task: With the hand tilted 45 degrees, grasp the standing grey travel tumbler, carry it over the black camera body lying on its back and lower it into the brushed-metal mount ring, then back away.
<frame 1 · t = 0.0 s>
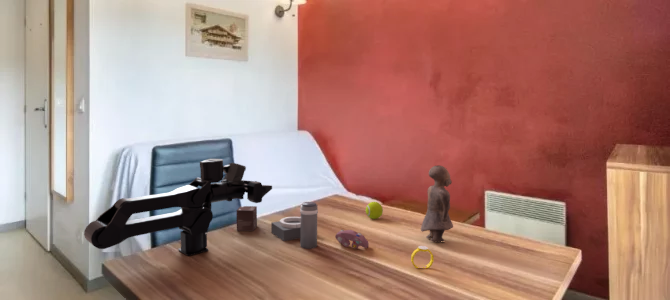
hand: (263, 185, 136), 17 cm above the table, tool horizontal, fingers open, 9 cm apart
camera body: (293, 233, 137), on the table
tennis ball: (373, 219, 157), on the table
box: (246, 228, 142), on the table
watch: (421, 268, 110), on the table
clay figurine: (435, 241, 133), on the table
grey travel tumbler: (308, 245, 126), on the table
video game controller: (351, 247, 125), on the table
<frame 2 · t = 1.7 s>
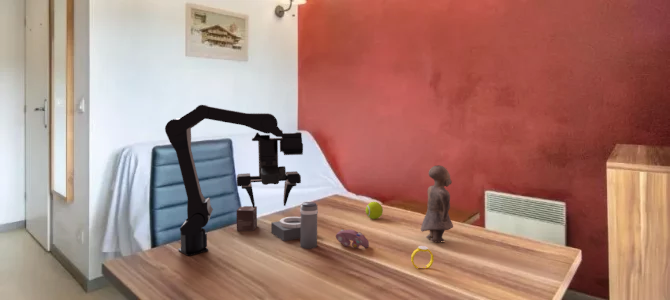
hand: (269, 206, 122), 13 cm above the table, tool pointing down, fingers open, 9 cm apart
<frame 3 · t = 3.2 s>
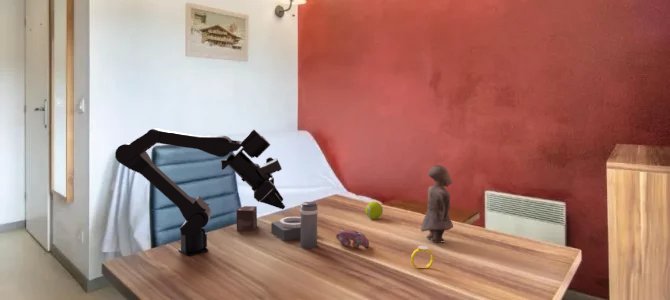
hand: (283, 204, 123), 13 cm above the table, tool tilted 45°, fingers open, 9 cm apart
nothing on the table moved.
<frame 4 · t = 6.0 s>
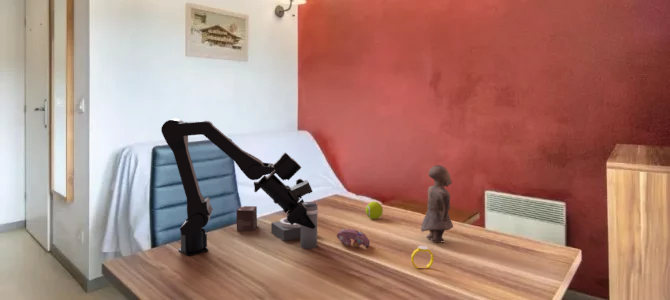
hand: (313, 225, 125), 7 cm above the table, tool tilted 45°, fingers closed on grey travel tumbler, 5 cm apart
grey travel tumbler: (308, 245, 126), on the table, touching gripper
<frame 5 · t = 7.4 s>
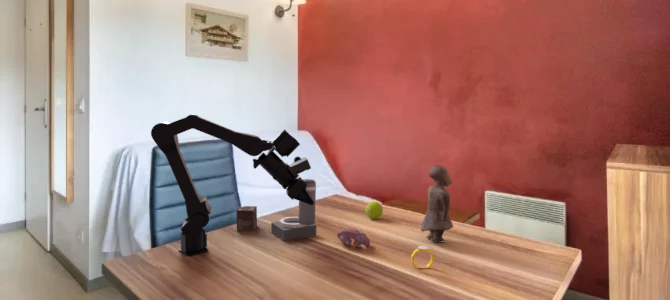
hand: (311, 201, 127), 13 cm above the table, tool tilted 45°, fingers closed on grey travel tumbler, 5 cm apart
grey travel tumbler: (306, 222, 127), point 7 cm above the table, touching gripper
when the fingers open (11 cm above the table, at t = 9.1 s): grey travel tumbler stays where it is, resting on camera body.
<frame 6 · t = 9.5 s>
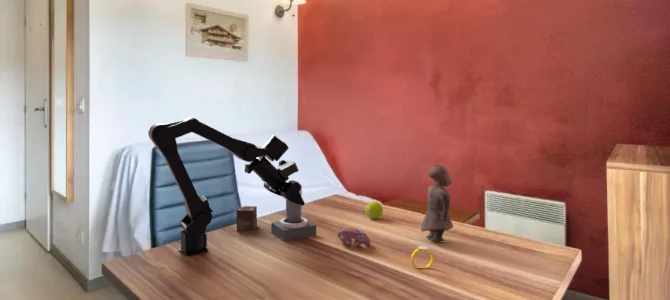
hand: (297, 201, 136), 11 cm above the table, tool tilted 45°, fingers open, 9 cm apart
grey travel tumbler: (293, 223, 136), point 4 cm above the table, touching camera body
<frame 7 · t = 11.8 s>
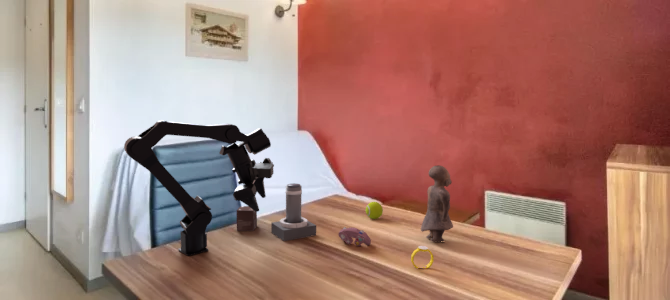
hand: (261, 204, 129), 12 cm above the table, tool tilted 25°, fingers open, 9 cm apart
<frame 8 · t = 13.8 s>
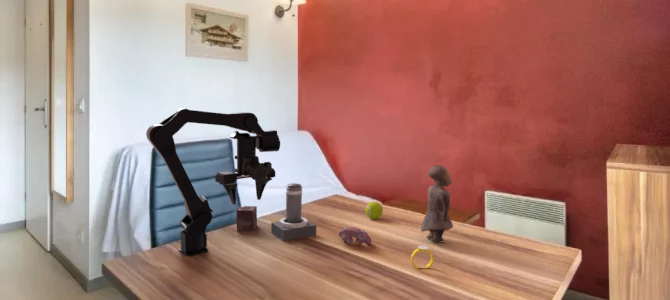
hand: (246, 201, 127), 13 cm above the table, tool pointing down, fingers open, 9 cm apart
at the end: grey travel tumbler 0.0 cm off-centre on the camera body, point 3.5 cm above the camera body's base; grey travel tumbler tilted 1°; the gripper is holding nothing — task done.
